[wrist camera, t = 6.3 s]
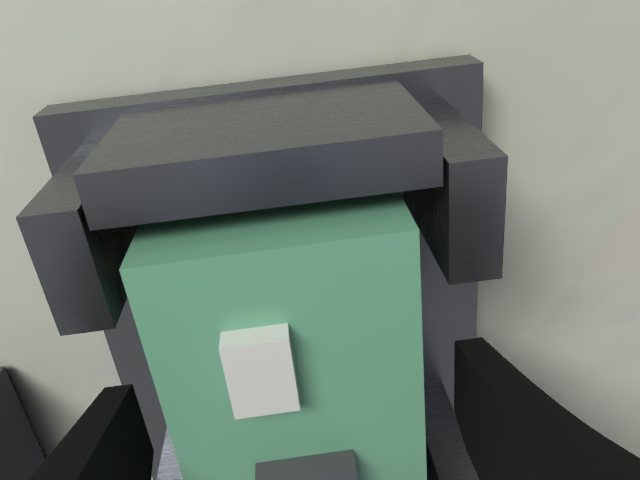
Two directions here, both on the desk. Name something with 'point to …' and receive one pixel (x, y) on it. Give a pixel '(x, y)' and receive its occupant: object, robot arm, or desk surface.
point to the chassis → (275, 199)
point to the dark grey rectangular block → (16, 436)
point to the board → (286, 340)
